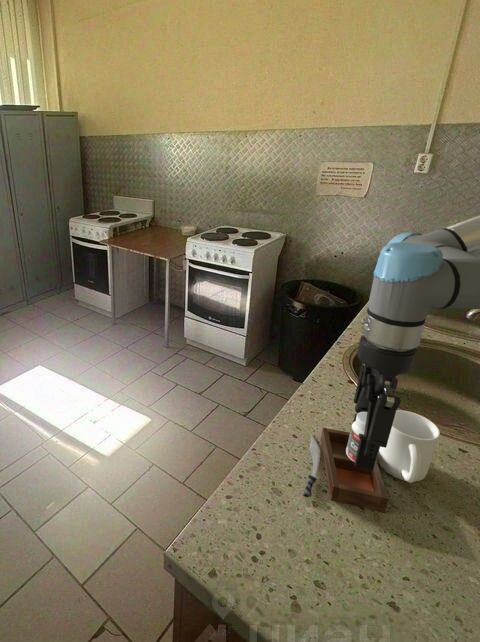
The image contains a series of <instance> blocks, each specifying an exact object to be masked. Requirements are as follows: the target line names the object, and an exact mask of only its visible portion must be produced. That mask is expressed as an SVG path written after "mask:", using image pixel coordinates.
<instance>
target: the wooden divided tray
mask: <svg viewBox="0 0 480 642" xmlns="http://www.w3.org/2000/svg"><path fill="white" fill-rule="evenodd" d="M349 436H350V432H349V431H344V430H339V429H333V428H327V427H322V429H321V434H320V440H319V441H320V445H321V452H322V457H323V463H324V468H325V470H324V471H325V475H326V480H327V487H328V493H329V498H330V501H332V502H337V503H341V504H345V505H349V506H353V507H357V508H363V509H367V510H371V511H375V512H379V513H382V514H383V513H384V514H385V513H386V510H387V507H388V504H389V500H390V499H389V495H388V492H387V489H386V486H385V484H384V480H383V477H382V474H381V470H380V468H379V464H378V461H376V463H375V465H374V469H373V470H368V469H364V468H359V467H355V464H354V463H355V462H353V461H352V460H351V459H350V458H349V457H348V456H347V454H346V448H347V444H348V440H349Z"/></svg>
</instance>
